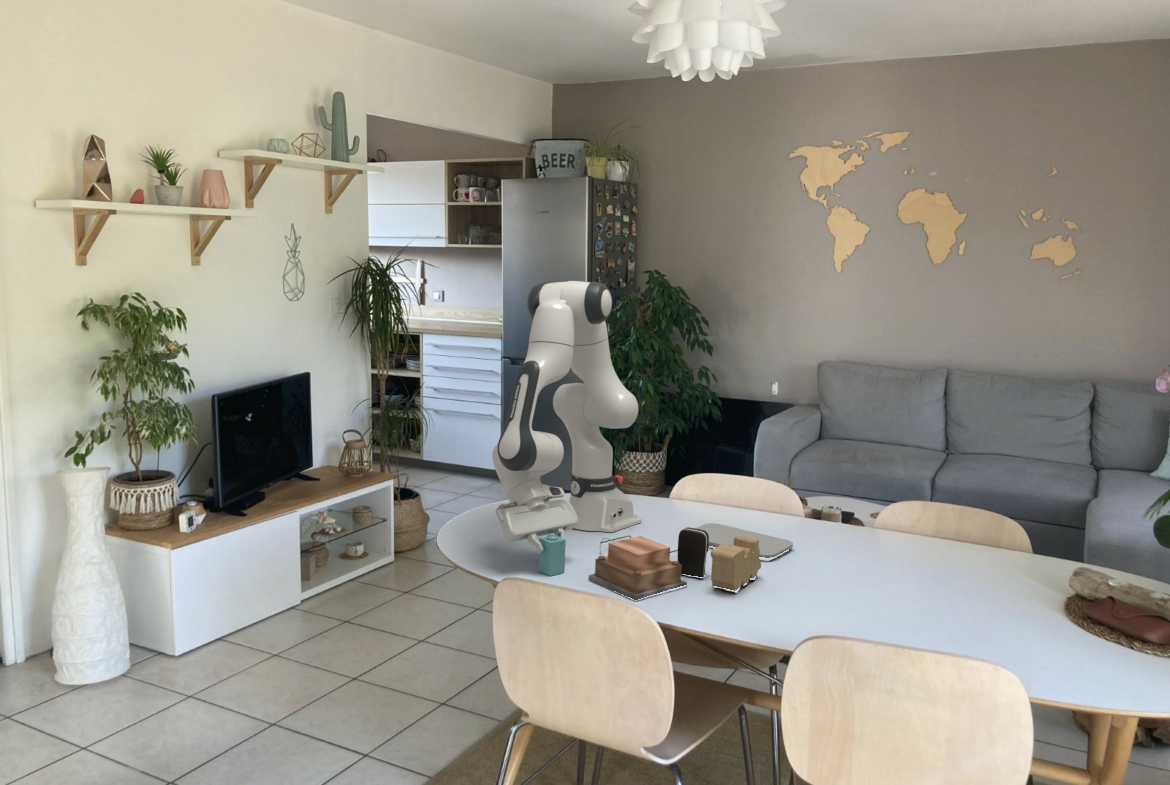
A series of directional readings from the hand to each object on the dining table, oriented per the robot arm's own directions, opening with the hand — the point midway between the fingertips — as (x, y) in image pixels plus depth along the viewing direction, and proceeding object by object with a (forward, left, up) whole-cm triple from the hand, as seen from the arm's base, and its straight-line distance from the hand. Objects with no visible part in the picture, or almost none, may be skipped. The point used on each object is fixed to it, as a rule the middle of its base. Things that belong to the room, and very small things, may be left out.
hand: (552, 549), depth 221 cm
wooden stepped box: (-12, +17, -6) cm, 21 cm away
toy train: (-31, +30, -6) cm, 43 cm away
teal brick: (0, 0, -5) cm, 5 cm away
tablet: (-54, +10, -6) cm, 56 cm away
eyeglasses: (-26, +2, -6) cm, 27 cm away
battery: (-27, +20, -6) cm, 34 cm away
